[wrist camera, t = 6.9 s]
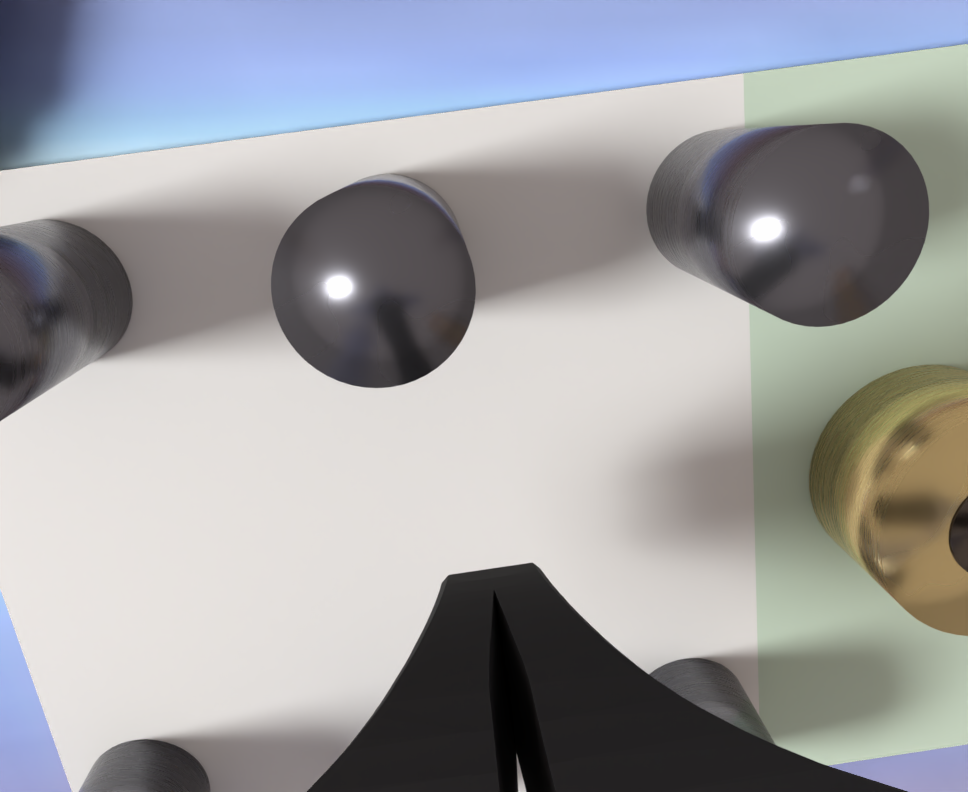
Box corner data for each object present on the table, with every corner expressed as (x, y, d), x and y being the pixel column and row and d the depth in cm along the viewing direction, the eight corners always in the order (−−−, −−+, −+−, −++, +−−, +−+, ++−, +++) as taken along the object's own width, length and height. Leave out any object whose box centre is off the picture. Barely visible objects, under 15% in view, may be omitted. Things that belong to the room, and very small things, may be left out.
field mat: (1015, 715, 18) (1035, 733, 17) (112, 851, 17) (101, 875, 17) (1080, 30, 14) (1108, 25, 13) (-116, 187, 13) (-141, 189, 12)
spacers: (792, 740, 17) (899, 914, 13) (105, 843, 16) (8, 1053, 13) (787, 119, 13) (933, 109, 9) (-104, 238, 13) (-332, 278, 9)
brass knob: (999, 553, 16) (1104, 628, 13) (801, 569, 16) (871, 648, 13) (1031, 357, 15) (1153, 399, 12) (817, 371, 14) (897, 418, 12)
